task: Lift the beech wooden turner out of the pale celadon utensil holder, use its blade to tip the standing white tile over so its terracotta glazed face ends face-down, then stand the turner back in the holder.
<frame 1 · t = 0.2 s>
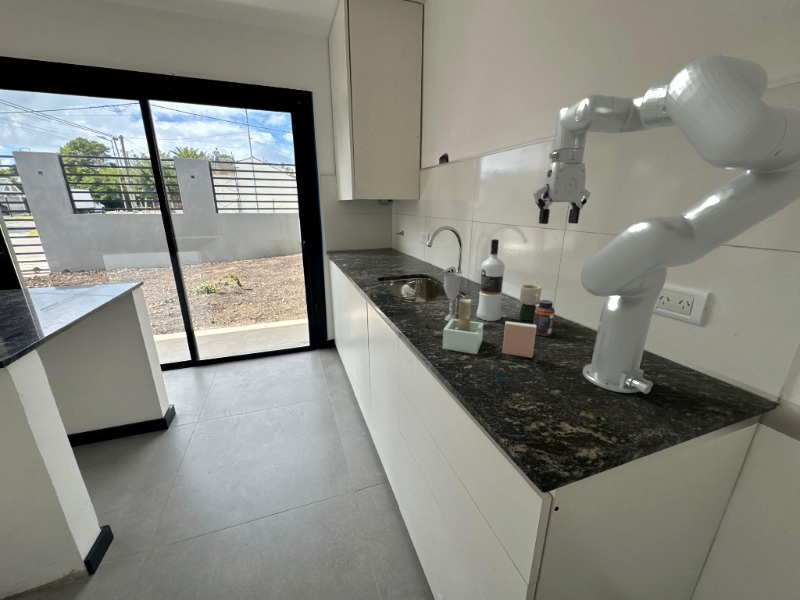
hand: (558, 223, 90), 37 cm above the worktop, tool pointing down, fingers open, 9 cm apart
supplement bottle: (541, 333, 107), on the worktop
chalice: (450, 322, 118), on the worktop
tile: (516, 357, 90), on the worktop
character mug: (527, 320, 120), on the worktop
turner: (462, 344, 95), point 1 cm above the worktop, touching holder
vodka: (488, 318, 122), on the worktop
holder: (462, 347, 96), on the worktop
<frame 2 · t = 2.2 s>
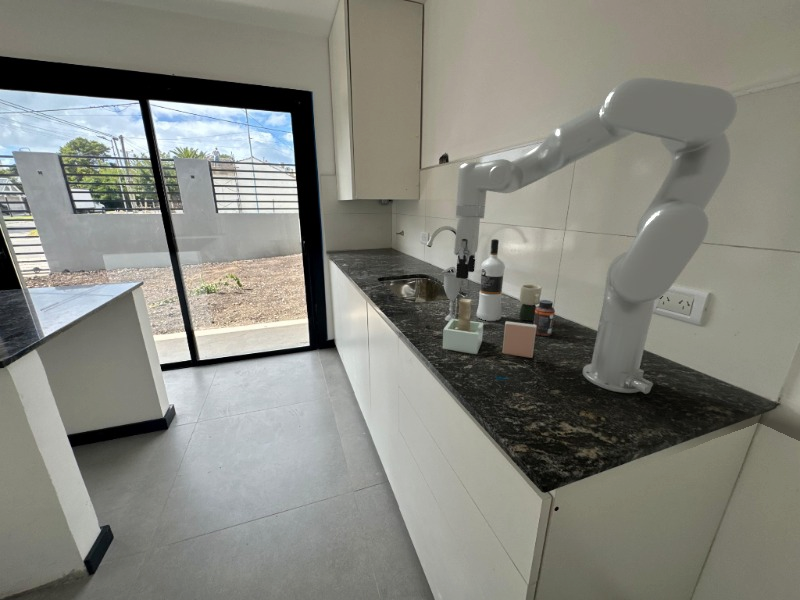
hand: (465, 274, 90), 23 cm above the worktop, tool pointing down, fingers open, 9 cm apart
nothing on the worktop moved.
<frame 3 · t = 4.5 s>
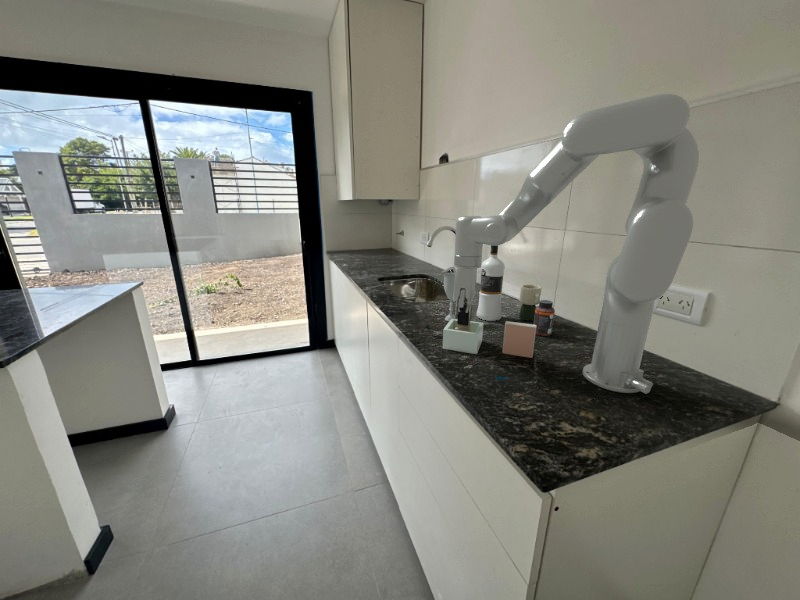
hand: (464, 322, 93), 8 cm above the worktop, tool pointing down, fingers closed on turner, 3 cm apart
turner: (462, 344, 95), point 1 cm above the worktop, touching gripper, holder
everything else where it was.
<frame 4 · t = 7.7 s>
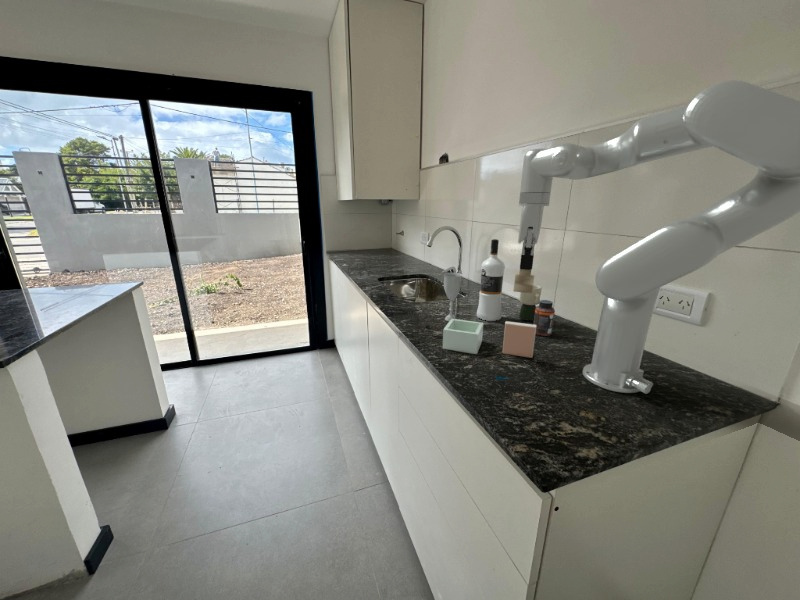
hand: (526, 267, 89), 25 cm above the worktop, tool pointing down, fingers closed on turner, 3 cm apart
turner: (522, 291, 91), point 17 cm above the worktop, touching gripper
everything else where it was.
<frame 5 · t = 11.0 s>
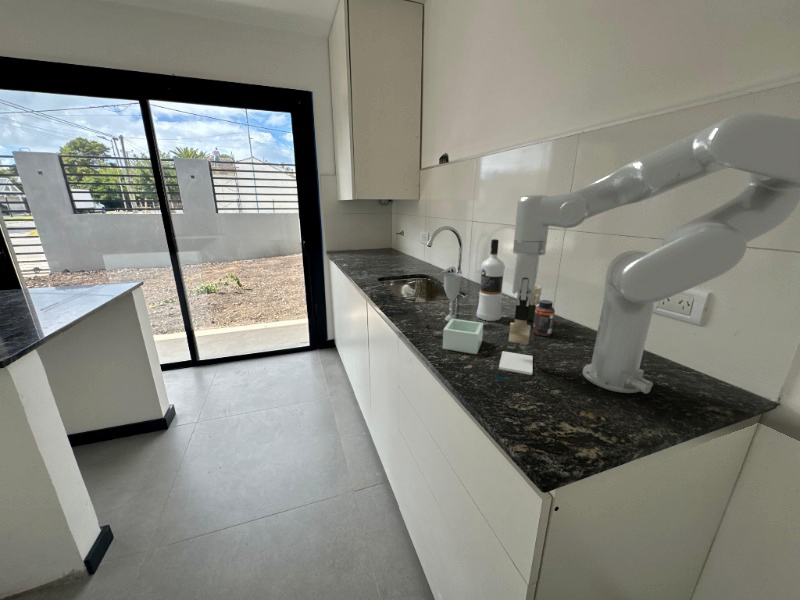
hand: (521, 316, 83), 13 cm above the worktop, tool pointing down, fingers closed on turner, 3 cm apart
tile: (516, 356, 88), point 1 cm above the worktop, tilted 90°
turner: (518, 341, 85), point 6 cm above the worktop, touching gripper
everything else where it was.
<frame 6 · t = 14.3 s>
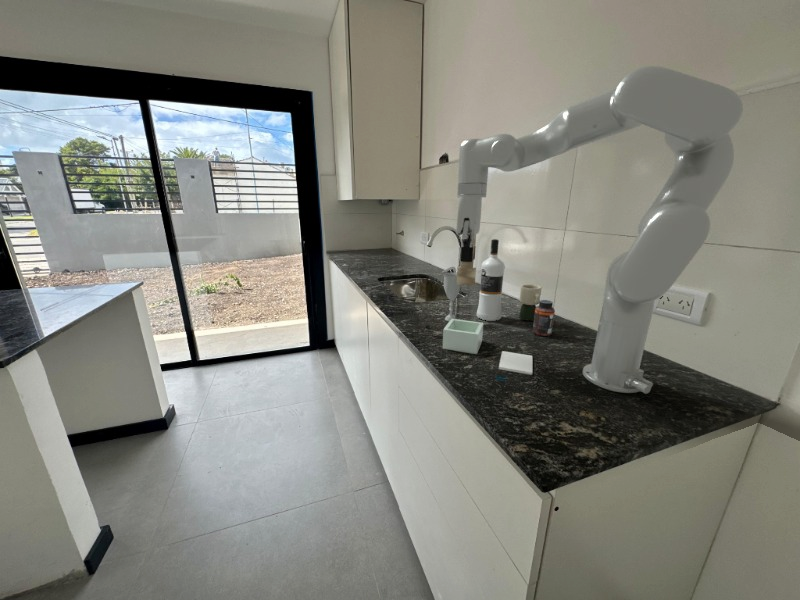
hand: (467, 260, 88), 27 cm above the worktop, tool pointing down, fingers closed on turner, 3 cm apart
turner: (465, 284, 90), point 20 cm above the worktop, touching gripper
everything else where it was.
when the fingers open (10 cm above the worktop, at t = 17.6 s): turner drops 2 cm, resting on holder.
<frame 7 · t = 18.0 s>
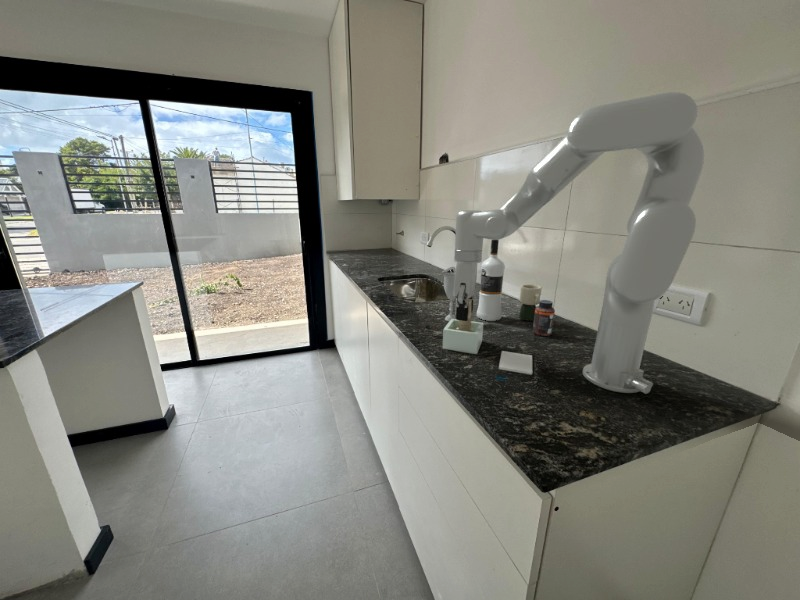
hand: (464, 315, 93), 10 cm above the worktop, tool pointing down, fingers open, 7 cm apart
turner: (464, 344, 95), point 1 cm above the worktop, touching holder
everything else where it was.
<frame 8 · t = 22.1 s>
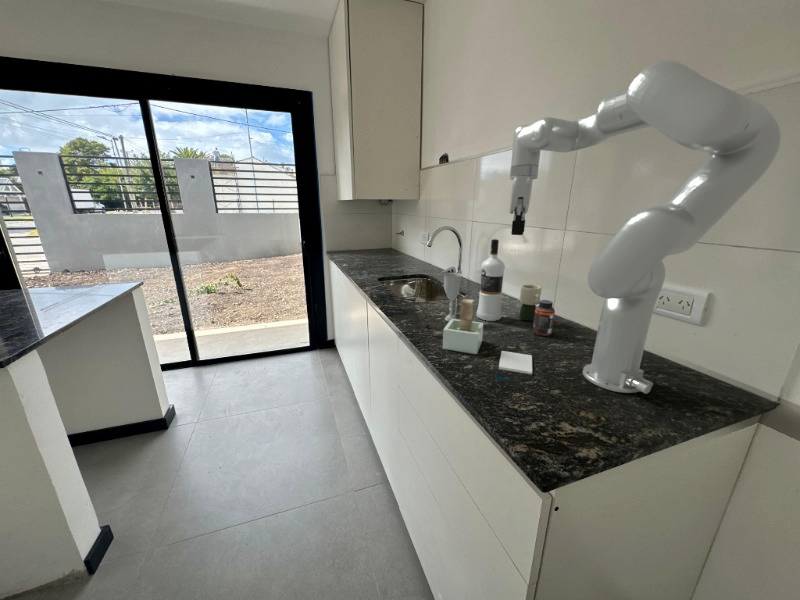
hand: (517, 233, 96), 33 cm above the worktop, tool pointing down, fingers open, 9 cm apart
nothing on the worktop moved.
at the end: tile tilted 90°; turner inside the target area on the holder (0.6 cm from its centre), point 1.0 cm above the holder's base; the gripper is holding nothing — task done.
